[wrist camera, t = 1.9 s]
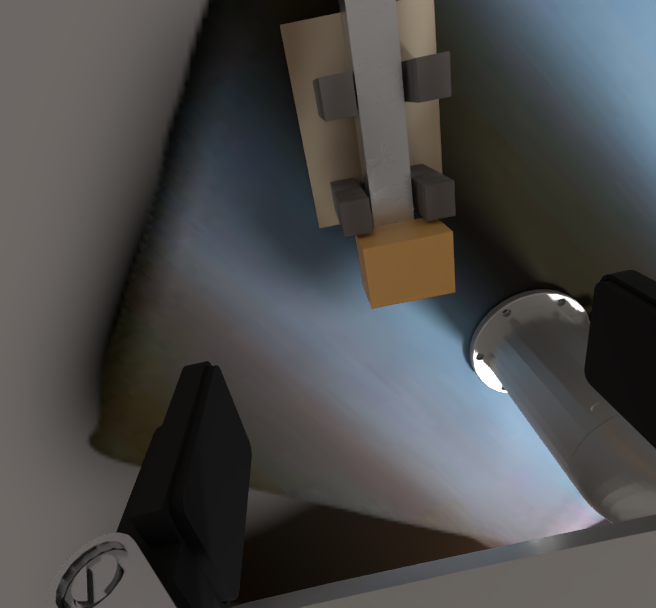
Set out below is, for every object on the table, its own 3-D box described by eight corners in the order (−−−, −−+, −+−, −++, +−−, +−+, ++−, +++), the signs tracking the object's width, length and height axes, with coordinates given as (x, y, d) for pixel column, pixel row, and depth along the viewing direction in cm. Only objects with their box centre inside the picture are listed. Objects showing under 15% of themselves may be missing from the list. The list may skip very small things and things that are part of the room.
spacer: (434, 215, 30) (452, 231, 27) (437, 270, 33) (455, 292, 29) (354, 231, 31) (362, 249, 27) (362, 285, 33) (371, 308, 29)
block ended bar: (378, -105, 25) (399, -152, 20) (411, 261, 37) (430, 287, 32) (315, -92, 25) (320, -135, 21) (367, 269, 37) (379, 297, 32)
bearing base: (429, -4, 30) (476, -37, 22) (440, 201, 37) (478, 228, 29) (280, 27, 30) (276, 4, 22) (318, 225, 37) (325, 259, 29)
